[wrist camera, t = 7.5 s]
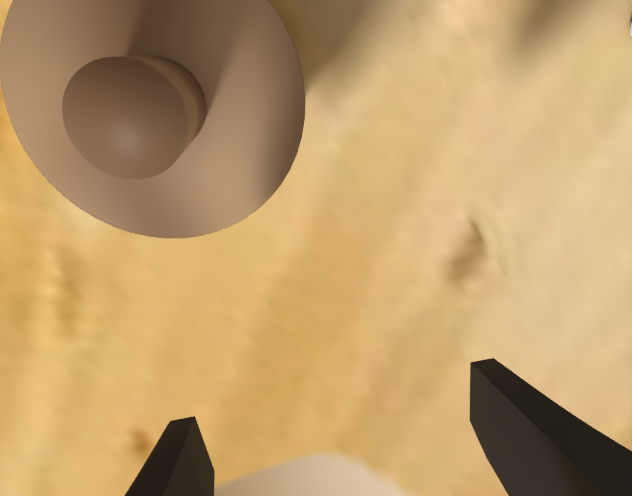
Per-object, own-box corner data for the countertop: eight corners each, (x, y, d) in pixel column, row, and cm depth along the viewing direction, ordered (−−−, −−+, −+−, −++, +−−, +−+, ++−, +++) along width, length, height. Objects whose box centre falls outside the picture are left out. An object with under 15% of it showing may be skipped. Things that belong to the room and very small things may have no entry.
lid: (296, -63, 12) (313, -124, 8) (306, 219, 16) (322, 277, 11) (-25, -62, 11) (-189, -128, 7) (62, 235, 15) (-14, 303, 11)
